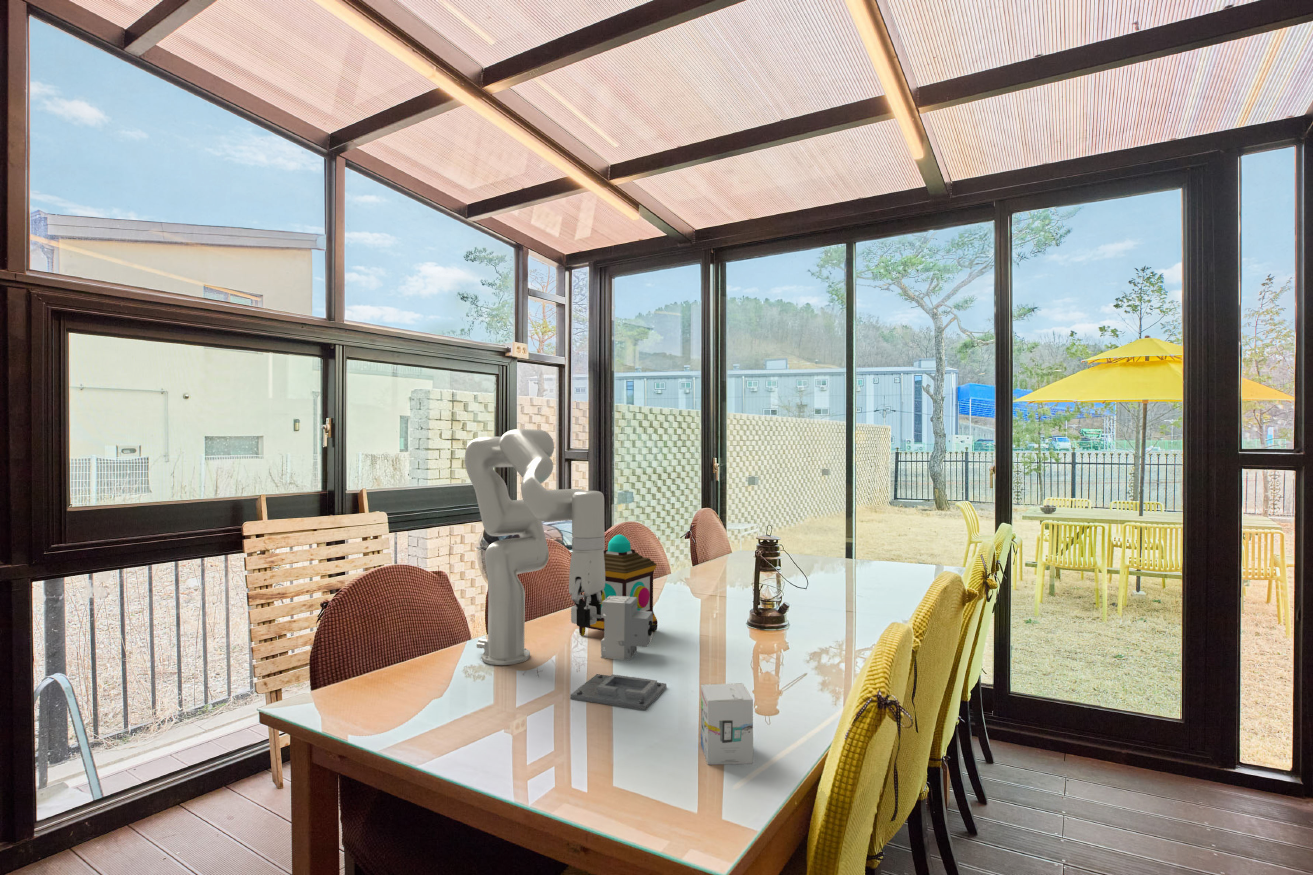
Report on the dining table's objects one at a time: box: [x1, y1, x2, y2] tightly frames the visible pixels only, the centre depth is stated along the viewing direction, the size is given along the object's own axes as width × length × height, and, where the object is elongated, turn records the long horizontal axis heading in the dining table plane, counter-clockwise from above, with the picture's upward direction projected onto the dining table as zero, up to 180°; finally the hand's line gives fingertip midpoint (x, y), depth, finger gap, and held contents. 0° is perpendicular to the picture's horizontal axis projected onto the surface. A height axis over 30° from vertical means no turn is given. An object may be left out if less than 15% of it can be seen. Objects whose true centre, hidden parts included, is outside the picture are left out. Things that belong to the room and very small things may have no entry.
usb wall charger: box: [570, 605, 601, 625], centre depth 151 cm, size 4×7×4 cm, turn 50°
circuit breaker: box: [600, 596, 658, 661], centre depth 178 cm, size 8×14×15 cm, turn 78°
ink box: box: [700, 682, 754, 766], centre depth 122 cm, size 8×8×12 cm
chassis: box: [570, 673, 667, 711], centre depth 151 cm, size 18×14×2 cm
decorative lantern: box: [578, 534, 658, 636], centre depth 199 cm, size 20×20×30 cm
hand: (589, 622), depth 151 cm, fingers closed on usb wall charger, 4 cm apart
